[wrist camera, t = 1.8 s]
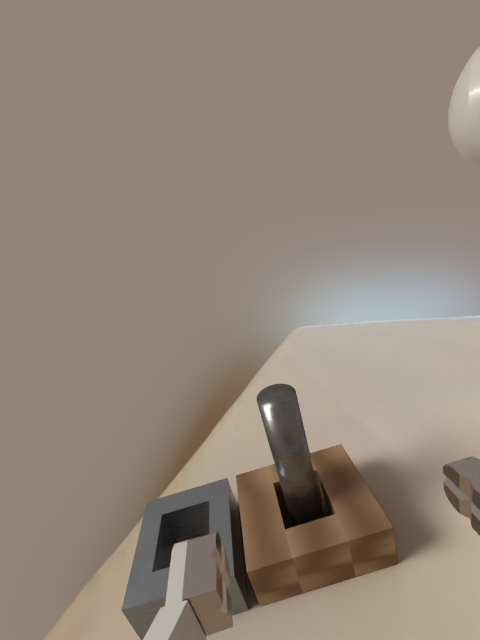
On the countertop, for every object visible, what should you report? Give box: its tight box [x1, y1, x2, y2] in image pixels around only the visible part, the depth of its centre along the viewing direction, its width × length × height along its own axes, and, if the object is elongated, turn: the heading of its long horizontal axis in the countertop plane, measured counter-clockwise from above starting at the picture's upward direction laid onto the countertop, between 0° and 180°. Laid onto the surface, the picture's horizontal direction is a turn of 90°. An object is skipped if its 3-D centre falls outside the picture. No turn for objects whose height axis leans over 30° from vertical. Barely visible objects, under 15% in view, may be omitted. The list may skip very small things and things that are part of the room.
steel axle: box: [257, 384, 324, 527], centre depth 25 cm, size 3×3×16 cm
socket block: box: [122, 478, 248, 640], centre depth 26 cm, size 9×9×4 cm
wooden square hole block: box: [236, 445, 398, 606], centre depth 26 cm, size 12×9×4 cm
